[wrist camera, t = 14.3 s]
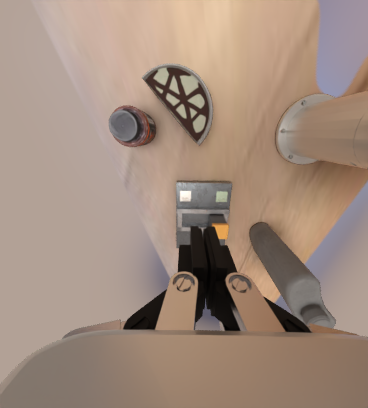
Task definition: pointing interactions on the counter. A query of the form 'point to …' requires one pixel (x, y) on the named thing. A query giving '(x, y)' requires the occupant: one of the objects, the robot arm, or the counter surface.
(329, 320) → the flask
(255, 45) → the counter surface
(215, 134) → the counter surface
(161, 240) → the counter surface
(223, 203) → the panel
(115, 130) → the supplement bottle
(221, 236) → the lever
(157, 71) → the food container
